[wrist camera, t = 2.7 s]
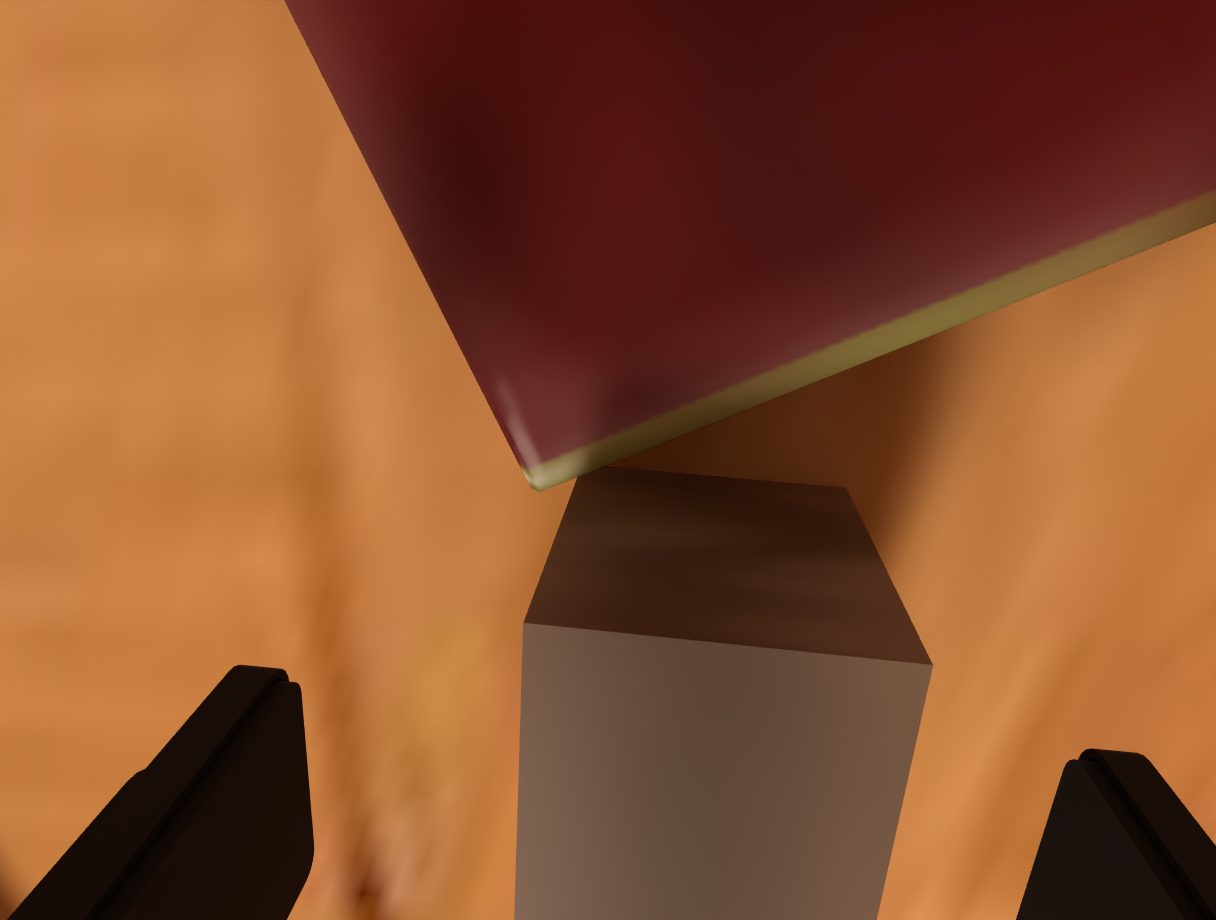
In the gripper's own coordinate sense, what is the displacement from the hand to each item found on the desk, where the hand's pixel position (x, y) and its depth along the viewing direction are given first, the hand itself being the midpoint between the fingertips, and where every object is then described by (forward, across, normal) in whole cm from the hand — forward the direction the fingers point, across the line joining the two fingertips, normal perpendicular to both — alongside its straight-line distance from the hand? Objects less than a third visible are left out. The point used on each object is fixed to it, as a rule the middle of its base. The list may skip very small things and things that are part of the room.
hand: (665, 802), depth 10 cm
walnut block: (+7, -1, +1) cm, 7 cm away
